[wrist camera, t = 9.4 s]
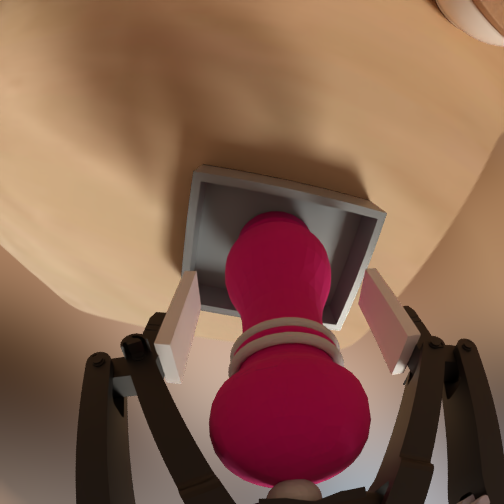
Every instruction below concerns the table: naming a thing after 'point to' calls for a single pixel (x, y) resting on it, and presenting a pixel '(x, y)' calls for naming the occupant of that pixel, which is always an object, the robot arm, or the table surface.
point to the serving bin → (285, 200)
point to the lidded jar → (477, 18)
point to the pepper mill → (285, 367)
